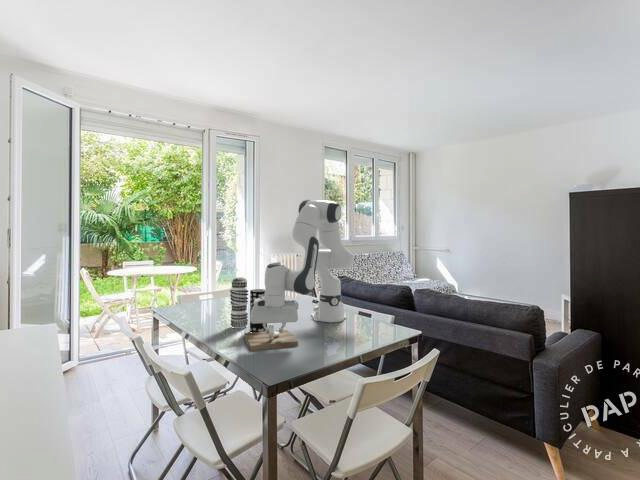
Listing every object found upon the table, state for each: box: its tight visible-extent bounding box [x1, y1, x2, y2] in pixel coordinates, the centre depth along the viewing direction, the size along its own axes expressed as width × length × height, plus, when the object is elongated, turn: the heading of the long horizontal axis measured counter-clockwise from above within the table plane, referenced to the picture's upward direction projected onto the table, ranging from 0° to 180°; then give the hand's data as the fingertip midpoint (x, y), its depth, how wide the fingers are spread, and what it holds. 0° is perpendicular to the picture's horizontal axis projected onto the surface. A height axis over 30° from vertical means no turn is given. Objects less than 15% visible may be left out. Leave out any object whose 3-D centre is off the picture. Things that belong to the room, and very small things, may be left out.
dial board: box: [243, 329, 299, 351], centre depth 155 cm, size 19×20×2 cm
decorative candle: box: [229, 276, 250, 329], centre depth 178 cm, size 9×9×25 cm
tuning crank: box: [267, 324, 279, 339], centre depth 153 cm, size 10×4×6 cm, turn 173°
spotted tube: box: [249, 288, 268, 333], centre depth 171 cm, size 8×8×20 cm
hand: (273, 332), depth 150 cm, fingers open, 5 cm apart
